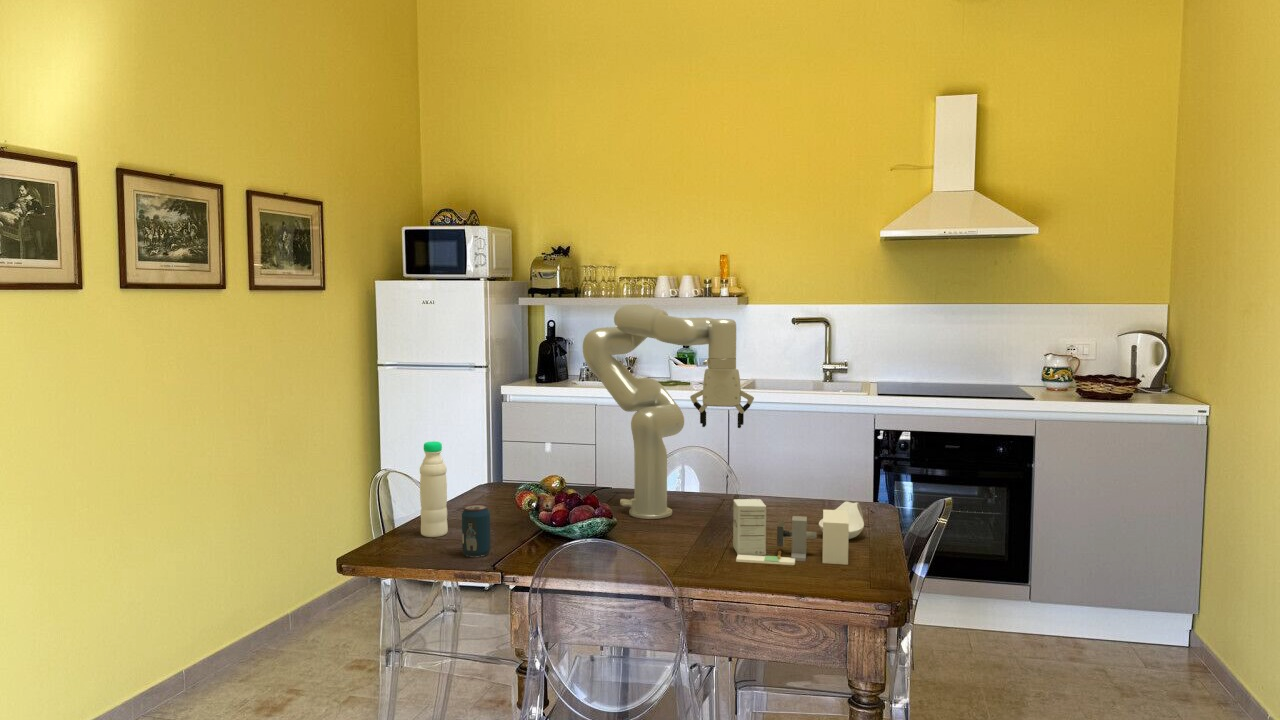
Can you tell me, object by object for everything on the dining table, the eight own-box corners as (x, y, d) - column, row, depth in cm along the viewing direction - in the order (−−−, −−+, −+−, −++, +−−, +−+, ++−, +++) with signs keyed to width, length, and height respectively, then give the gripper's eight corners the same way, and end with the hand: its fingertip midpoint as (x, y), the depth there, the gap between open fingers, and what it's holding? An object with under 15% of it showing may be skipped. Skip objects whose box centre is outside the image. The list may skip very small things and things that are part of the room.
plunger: (775, 557, 221) (776, 531, 220) (778, 545, 231) (778, 520, 231) (815, 559, 219) (816, 533, 218) (816, 547, 229) (816, 522, 229)
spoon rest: (859, 545, 235) (859, 518, 235) (814, 540, 240) (814, 514, 240) (875, 524, 257) (875, 499, 256) (833, 520, 262) (833, 495, 261)
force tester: (736, 561, 221) (736, 521, 220) (742, 543, 236) (742, 505, 236) (848, 568, 216) (849, 526, 215) (846, 549, 231) (847, 510, 230)
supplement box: (732, 547, 233) (732, 498, 232) (761, 547, 233) (761, 498, 232) (736, 555, 226) (737, 505, 225) (766, 555, 226) (767, 505, 225)
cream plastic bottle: (415, 534, 245) (413, 442, 243) (437, 529, 250) (436, 439, 248) (430, 539, 240) (429, 445, 238) (452, 534, 246) (451, 442, 244)
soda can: (487, 548, 232) (487, 502, 231) (493, 556, 225) (492, 508, 224) (460, 551, 229) (459, 504, 228) (464, 559, 223) (464, 511, 222)
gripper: (688, 365, 246) (688, 428, 247) (753, 366, 242) (752, 430, 243) (692, 362, 253) (692, 424, 254) (755, 363, 249) (754, 425, 251)
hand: (721, 426), depth 249 cm, fingers open, 9 cm apart
